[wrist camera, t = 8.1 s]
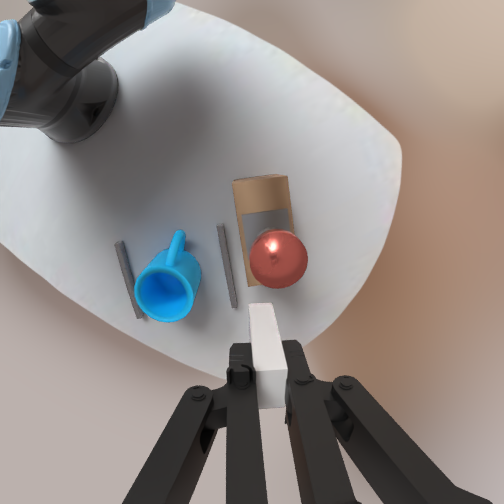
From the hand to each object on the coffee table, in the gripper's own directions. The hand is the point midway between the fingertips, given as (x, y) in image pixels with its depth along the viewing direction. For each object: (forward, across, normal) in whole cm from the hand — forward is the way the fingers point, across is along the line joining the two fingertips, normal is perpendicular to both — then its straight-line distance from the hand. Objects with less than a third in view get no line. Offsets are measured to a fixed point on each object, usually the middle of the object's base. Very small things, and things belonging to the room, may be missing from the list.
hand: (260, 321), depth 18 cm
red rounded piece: (+11, +2, +2) cm, 11 cm away
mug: (+25, -11, -4) cm, 27 cm away
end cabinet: (+24, +2, +2) cm, 24 cm away
